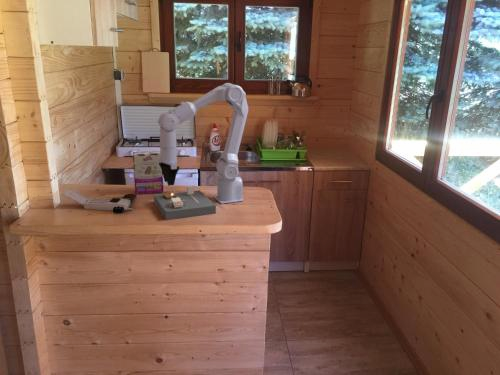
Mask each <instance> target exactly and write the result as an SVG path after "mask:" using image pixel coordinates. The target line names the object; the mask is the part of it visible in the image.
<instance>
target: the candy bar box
mask: <svg viewBox="0 0 500 375" xmlns="http://www.w3.org/2000/svg"><path fill="white" fill-rule="evenodd" d="M160 158H161V155H160V150H156V151H155V150H154V151H149V150H148V151H133V152H132V163H133V164H132V165H133V179H134V180H133V182H134V194H135V195H149V194H150V195H151V194H164V177H163V173H162V169H161V167H160V165H159V163H160V162H158V161H157V159H160Z"/></svg>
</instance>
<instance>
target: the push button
mask: <svg viewBox="0 0 500 375" xmlns="http://www.w3.org/2000/svg"><path fill="white" fill-rule="evenodd" d="M174 193H175V191H173V190H167V191H164V194H165V200H167V199H171V198H175V194H174Z"/></svg>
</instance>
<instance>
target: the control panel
mask: <svg viewBox="0 0 500 375" xmlns="http://www.w3.org/2000/svg"><path fill="white" fill-rule="evenodd" d="M174 194H175V198H177V197H179V198H180V199H181V201H182V203H183V207H176V208H175V207H174V205H173V204H172V201H171V199H167V200H165V193H159V194H154V195H153V203H154V205H155V206H156V208H157V209H158V210H159V212H160V213H161V215H162V217H163V218H164V219H165V220H166V221H169V220H176V219H184V218H191V217H198V216H208V215H214V214H216V213H217V205H216V204H215V203H214V201H212V200H211V199H210V198H208V197H207V196H206V195H205V194H204V192H202V191H201V190H199V189H198V190H194V194H191V195H188V194H187V191H182V192H181V191H179V192H174Z"/></svg>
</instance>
